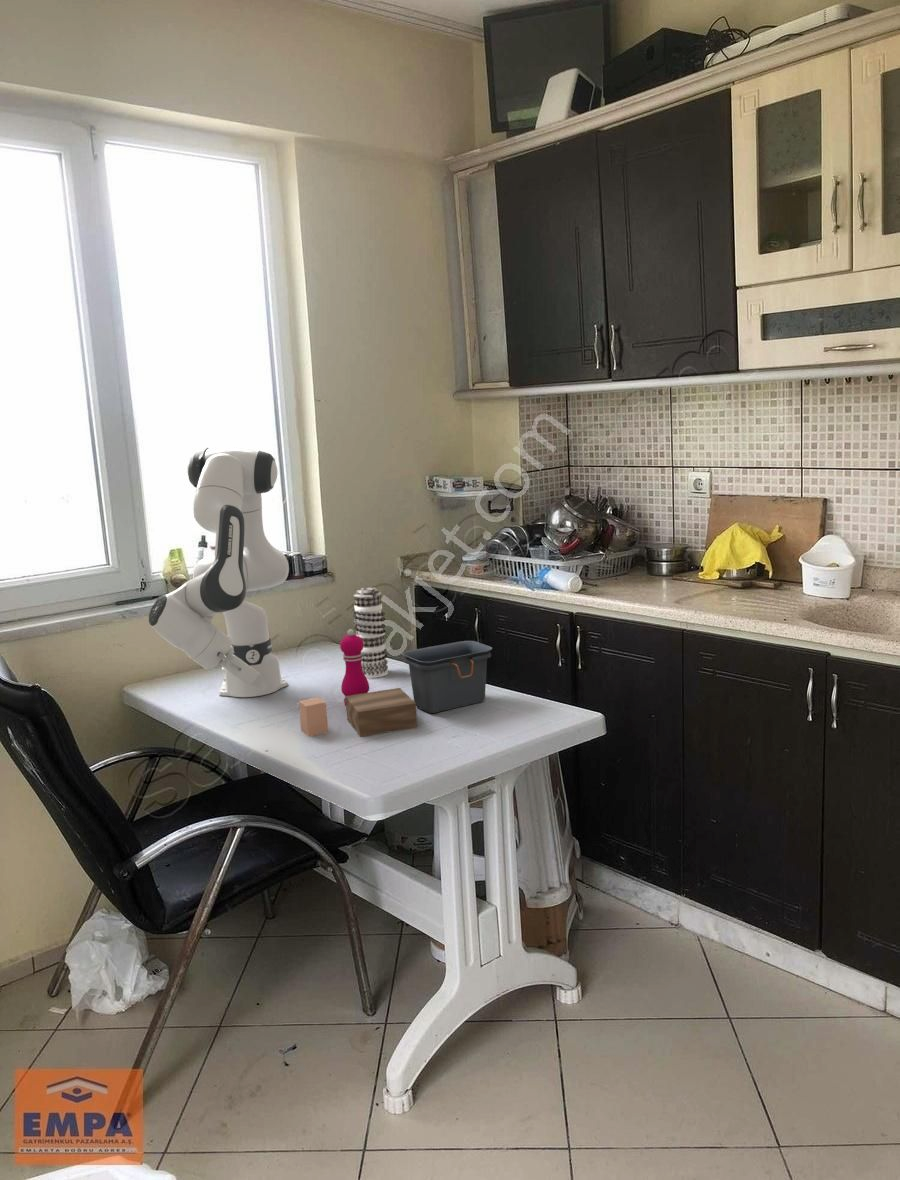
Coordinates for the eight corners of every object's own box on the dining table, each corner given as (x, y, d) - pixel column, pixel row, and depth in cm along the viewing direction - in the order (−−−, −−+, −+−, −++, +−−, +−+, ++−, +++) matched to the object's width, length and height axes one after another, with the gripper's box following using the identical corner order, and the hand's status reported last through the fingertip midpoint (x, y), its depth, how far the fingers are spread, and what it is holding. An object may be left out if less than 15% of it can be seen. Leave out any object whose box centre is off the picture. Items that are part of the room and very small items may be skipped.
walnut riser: (347, 719, 235) (345, 696, 234) (401, 710, 239) (399, 687, 238) (360, 736, 222) (358, 712, 221) (417, 727, 226) (415, 703, 225)
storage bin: (471, 690, 253) (468, 638, 251) (504, 703, 240) (502, 648, 238) (401, 706, 243) (397, 652, 240) (432, 722, 230) (428, 664, 227)
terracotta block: (301, 731, 229) (298, 701, 227) (320, 726, 231) (318, 697, 230) (308, 736, 224) (305, 706, 223) (328, 732, 227) (325, 702, 225)
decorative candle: (351, 674, 276) (344, 589, 271) (378, 667, 281) (372, 584, 276) (368, 680, 268) (361, 593, 264) (395, 673, 274) (389, 588, 269)
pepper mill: (366, 708, 243) (360, 632, 239) (339, 708, 244) (332, 632, 240) (373, 700, 250) (368, 625, 246) (347, 699, 251) (341, 626, 247)
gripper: (234, 647, 205) (282, 682, 211) (210, 630, 222) (254, 663, 229) (216, 670, 203) (265, 705, 210) (193, 652, 221) (238, 684, 227)
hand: (259, 683), depth 219 cm, fingers open, 8 cm apart
